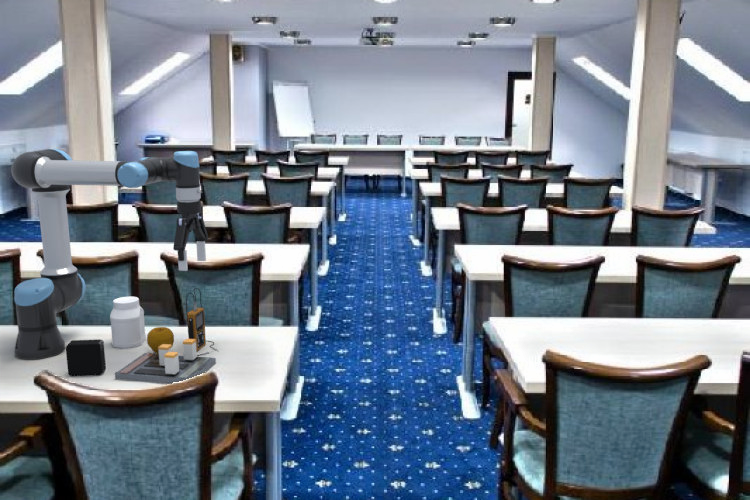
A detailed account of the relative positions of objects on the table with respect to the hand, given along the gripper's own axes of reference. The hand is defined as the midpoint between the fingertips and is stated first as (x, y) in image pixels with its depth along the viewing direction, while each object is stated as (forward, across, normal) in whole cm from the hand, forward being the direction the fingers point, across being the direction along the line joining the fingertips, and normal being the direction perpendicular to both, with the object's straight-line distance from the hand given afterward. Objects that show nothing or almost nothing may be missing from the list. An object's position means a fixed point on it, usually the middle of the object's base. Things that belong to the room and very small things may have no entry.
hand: (192, 265), depth 246 cm
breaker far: (+26, -15, -5) cm, 30 cm away
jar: (+28, +1, +25) cm, 38 cm away
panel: (+28, -21, 0) cm, 35 cm away
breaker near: (+26, -27, -5) cm, 38 cm away
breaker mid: (+26, -21, 0) cm, 33 cm away
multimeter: (+28, 0, -4) cm, 28 cm away
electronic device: (+28, -28, +23) cm, 46 cm away
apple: (+28, -7, +9) cm, 31 cm away
